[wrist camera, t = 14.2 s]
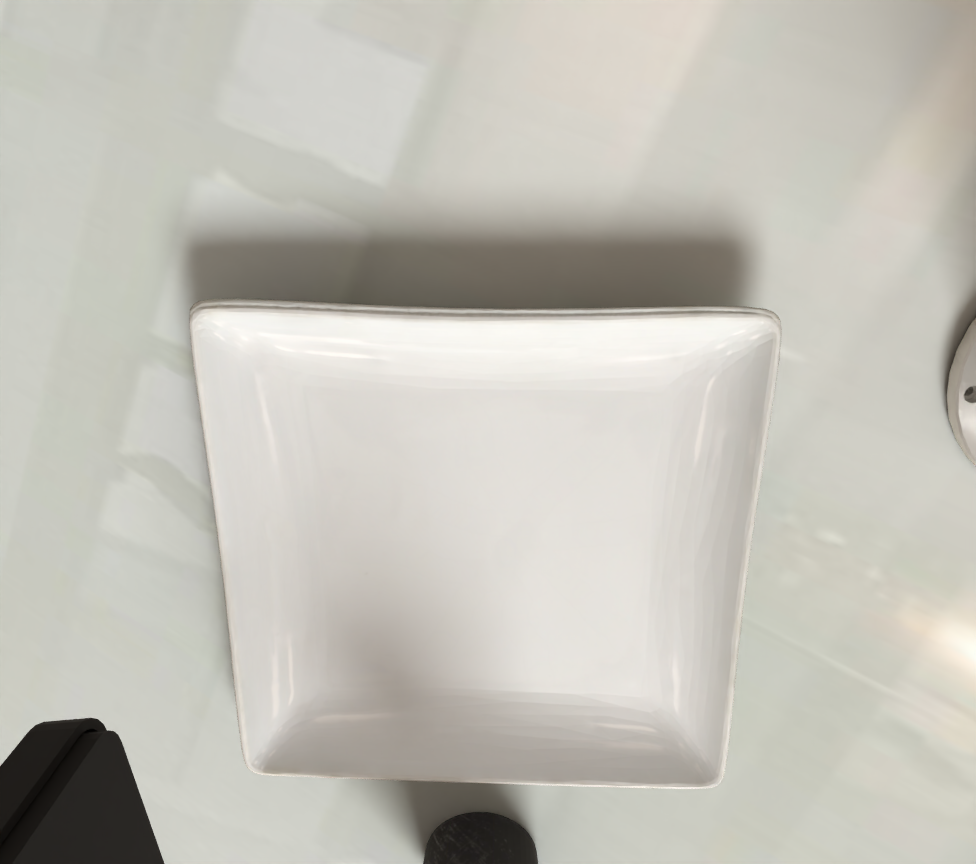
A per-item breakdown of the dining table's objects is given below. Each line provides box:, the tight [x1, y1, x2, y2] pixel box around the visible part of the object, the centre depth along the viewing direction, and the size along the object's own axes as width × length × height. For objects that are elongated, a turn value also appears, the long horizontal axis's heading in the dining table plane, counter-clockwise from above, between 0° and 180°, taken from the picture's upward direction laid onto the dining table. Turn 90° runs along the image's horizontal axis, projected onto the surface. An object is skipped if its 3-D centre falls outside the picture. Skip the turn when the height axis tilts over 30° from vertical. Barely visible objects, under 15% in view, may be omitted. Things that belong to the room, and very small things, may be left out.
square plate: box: [189, 299, 781, 789], centre depth 42 cm, size 27×27×4 cm
